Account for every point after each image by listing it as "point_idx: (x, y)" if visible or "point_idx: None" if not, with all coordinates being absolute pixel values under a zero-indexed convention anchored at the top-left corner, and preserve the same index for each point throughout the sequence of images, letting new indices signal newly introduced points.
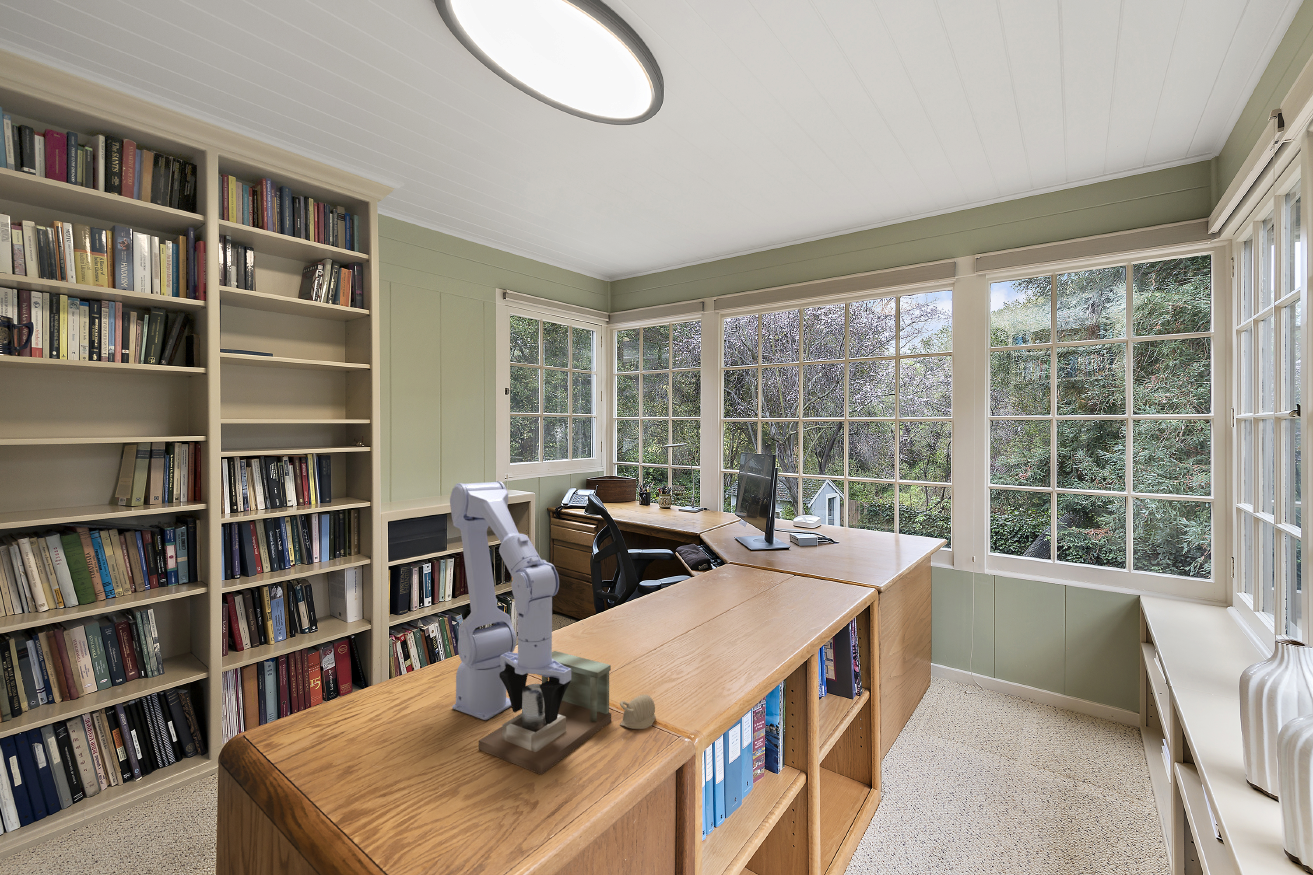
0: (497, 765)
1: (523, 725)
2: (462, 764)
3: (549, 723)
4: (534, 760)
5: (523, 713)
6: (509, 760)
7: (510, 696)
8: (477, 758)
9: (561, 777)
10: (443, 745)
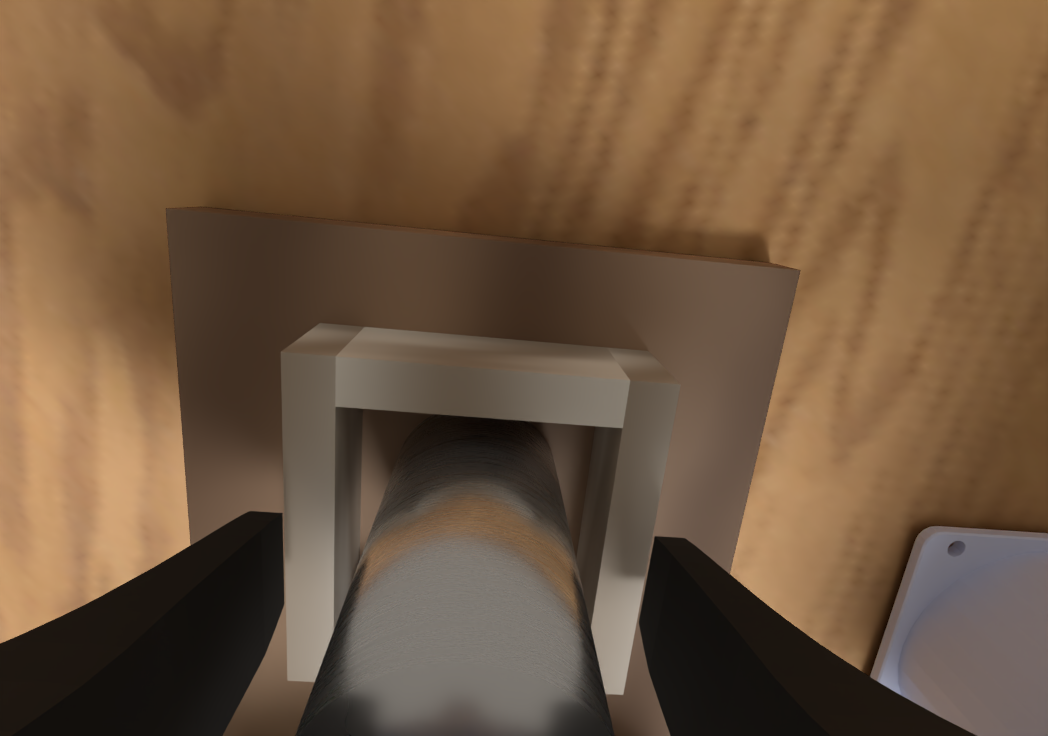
0: (535, 167)
1: (508, 452)
2: (763, 70)
3: (244, 515)
4: (254, 235)
5: (511, 503)
6: (490, 236)
7: (757, 617)
8: (711, 174)
9: (69, 241)
10: (1023, 197)
